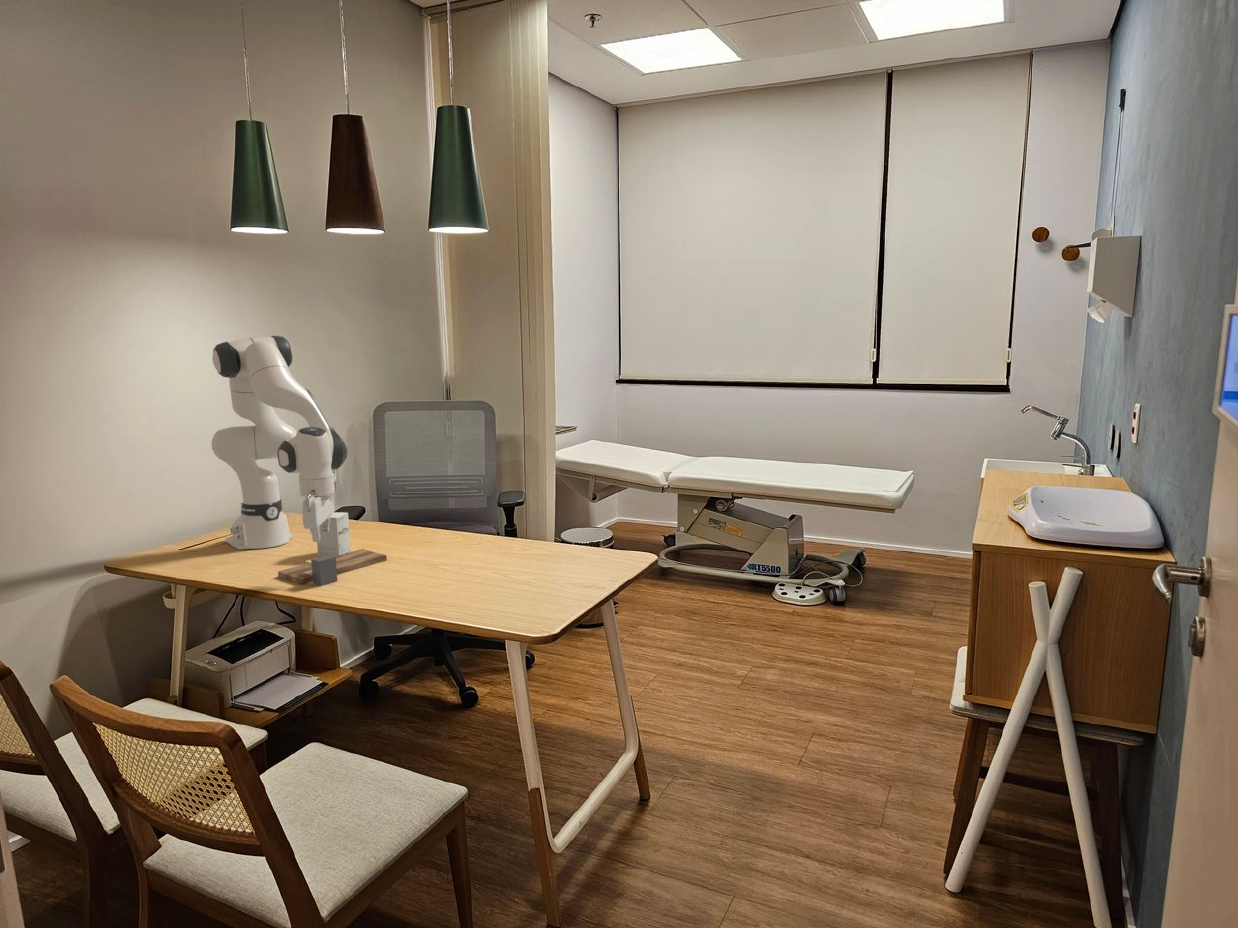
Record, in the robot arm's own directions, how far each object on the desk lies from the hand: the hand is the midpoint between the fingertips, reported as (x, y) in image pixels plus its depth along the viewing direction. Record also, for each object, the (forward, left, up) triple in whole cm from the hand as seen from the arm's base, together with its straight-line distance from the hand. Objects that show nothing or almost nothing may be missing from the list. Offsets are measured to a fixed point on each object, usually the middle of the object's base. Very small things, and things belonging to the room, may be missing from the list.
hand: (321, 537), depth 222 cm
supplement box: (-23, +18, -13) cm, 32 cm away
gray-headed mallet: (-3, 0, -13) cm, 14 cm away
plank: (-10, +9, -13) cm, 19 cm away
